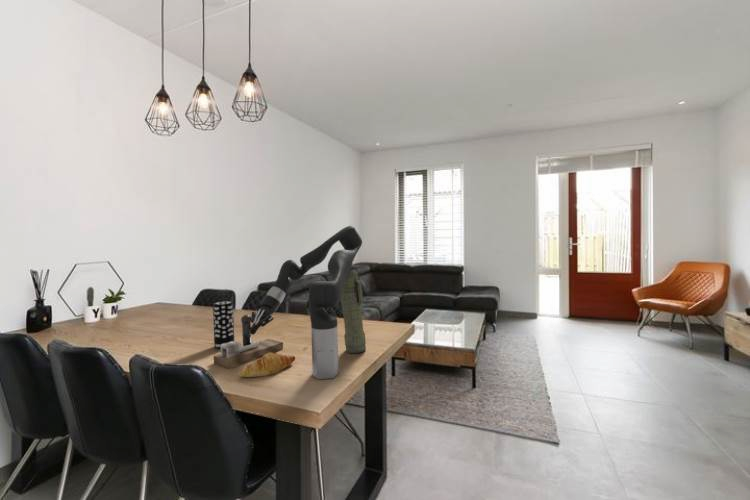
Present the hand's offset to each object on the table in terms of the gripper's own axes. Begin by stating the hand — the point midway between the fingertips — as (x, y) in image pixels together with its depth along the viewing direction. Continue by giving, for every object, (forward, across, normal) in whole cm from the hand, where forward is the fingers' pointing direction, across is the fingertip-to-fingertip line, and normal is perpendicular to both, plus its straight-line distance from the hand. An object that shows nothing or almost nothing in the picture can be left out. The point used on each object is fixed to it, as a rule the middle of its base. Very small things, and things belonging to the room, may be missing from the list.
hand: (250, 333), depth 139 cm
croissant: (+12, -20, -2) cm, 23 cm away
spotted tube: (+7, +21, -7) cm, 23 cm away
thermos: (-13, -34, -26) cm, 45 cm away
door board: (+7, 0, -6) cm, 9 cm away
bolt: (+6, 0, -2) cm, 7 cm away
